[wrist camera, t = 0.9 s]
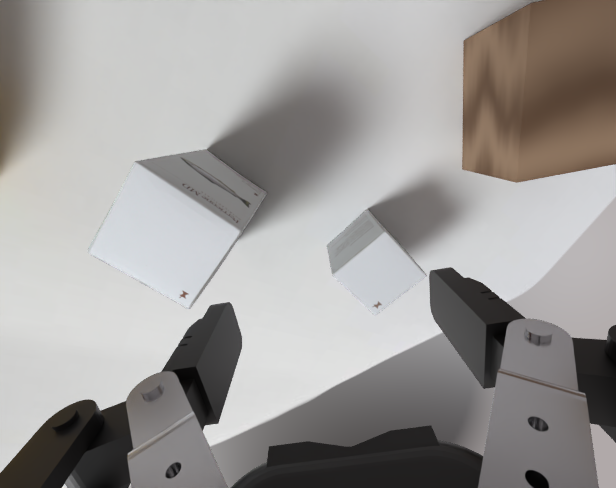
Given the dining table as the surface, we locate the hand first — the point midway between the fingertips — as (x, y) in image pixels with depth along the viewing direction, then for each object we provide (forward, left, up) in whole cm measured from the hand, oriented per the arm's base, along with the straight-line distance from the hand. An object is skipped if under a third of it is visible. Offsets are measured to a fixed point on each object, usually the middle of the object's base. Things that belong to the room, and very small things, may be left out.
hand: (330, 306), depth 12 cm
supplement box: (-2, -10, -20) cm, 22 cm away
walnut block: (-6, +21, -20) cm, 29 cm away
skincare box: (+6, +4, -20) cm, 21 cm away
